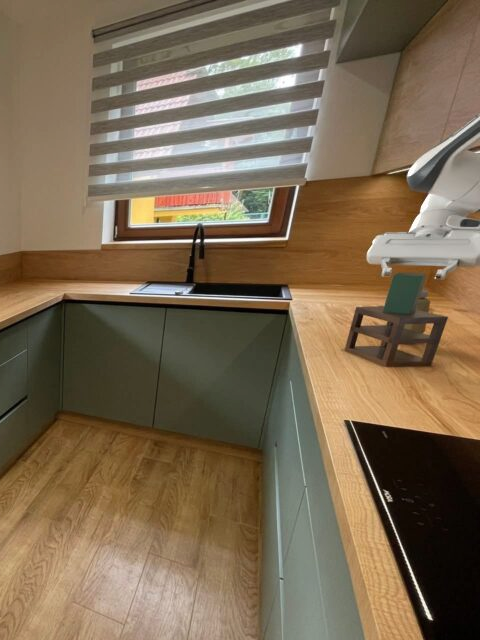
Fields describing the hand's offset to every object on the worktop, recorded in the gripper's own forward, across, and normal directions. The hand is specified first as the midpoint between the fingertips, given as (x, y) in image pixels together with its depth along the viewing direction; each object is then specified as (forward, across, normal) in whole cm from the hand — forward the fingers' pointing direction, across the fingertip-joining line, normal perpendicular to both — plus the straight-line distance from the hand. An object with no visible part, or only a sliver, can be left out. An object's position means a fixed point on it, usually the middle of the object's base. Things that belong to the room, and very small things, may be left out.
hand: (411, 276), depth 103 cm
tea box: (+7, 0, +4) cm, 8 cm away
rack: (+16, 0, +13) cm, 20 cm away
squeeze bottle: (+1, -1, +28) cm, 28 cm away
